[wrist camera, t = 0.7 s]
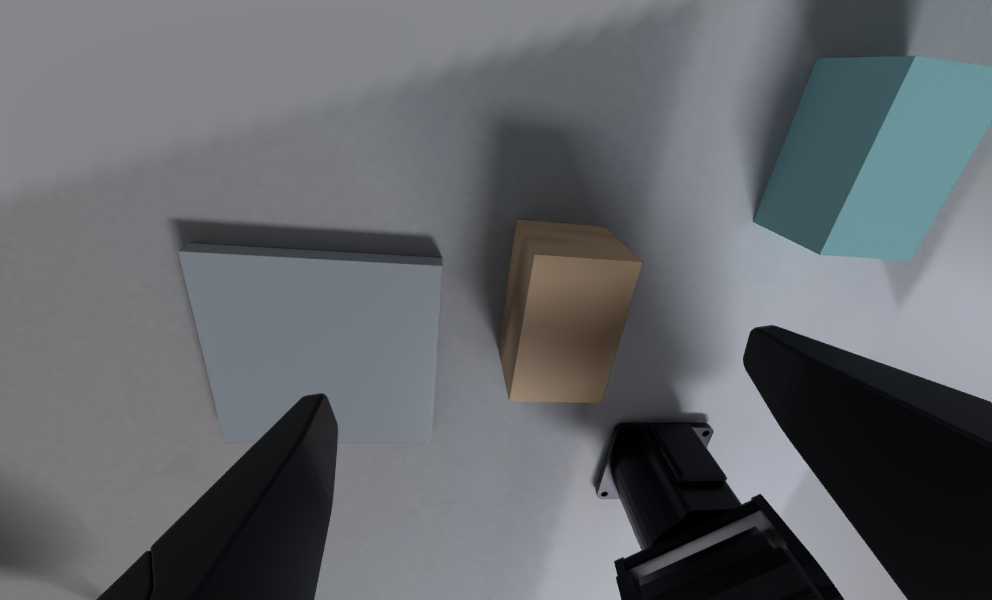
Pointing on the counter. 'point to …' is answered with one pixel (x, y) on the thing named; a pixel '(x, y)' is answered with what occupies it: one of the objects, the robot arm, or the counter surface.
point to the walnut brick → (564, 311)
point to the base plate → (317, 337)
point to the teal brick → (875, 153)
